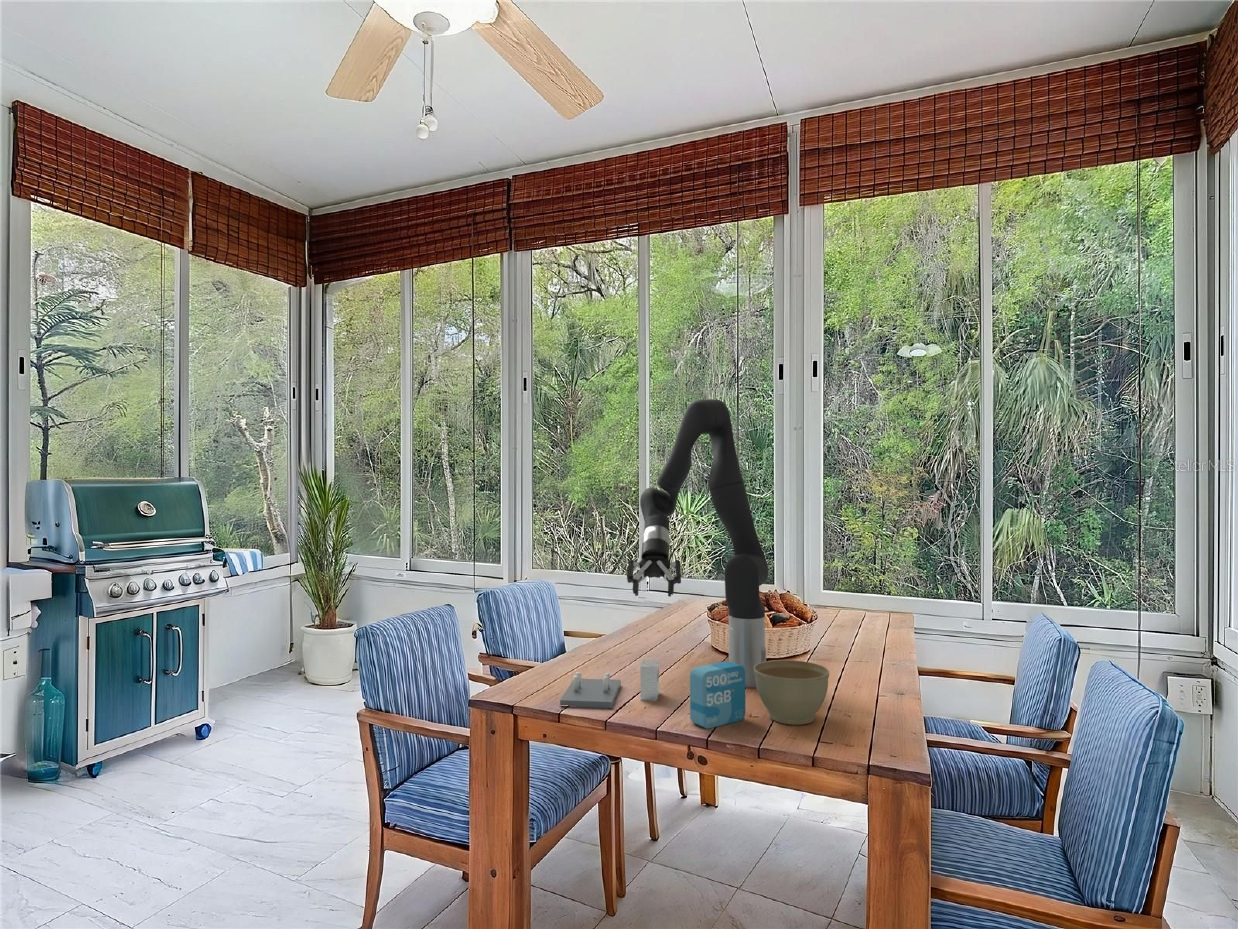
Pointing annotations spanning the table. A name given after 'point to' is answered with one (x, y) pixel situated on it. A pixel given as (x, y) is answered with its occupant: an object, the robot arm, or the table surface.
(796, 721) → the planter bowl
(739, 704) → the data package
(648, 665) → the block
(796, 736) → the table surface
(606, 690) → the drive dock
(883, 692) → the table surface
